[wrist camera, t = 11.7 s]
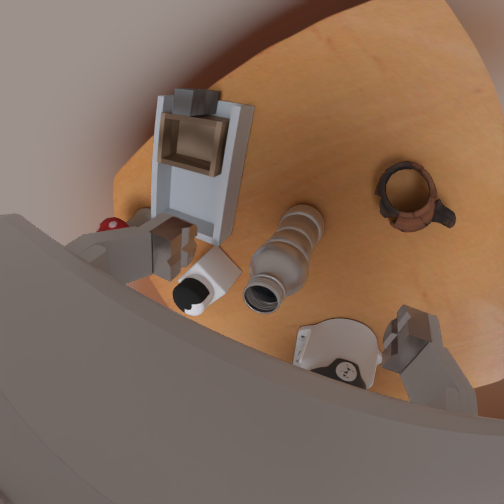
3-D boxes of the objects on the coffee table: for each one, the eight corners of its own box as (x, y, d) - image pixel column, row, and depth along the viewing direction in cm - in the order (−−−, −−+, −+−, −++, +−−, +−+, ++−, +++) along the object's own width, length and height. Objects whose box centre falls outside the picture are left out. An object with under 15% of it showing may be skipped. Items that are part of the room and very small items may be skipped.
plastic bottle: (280, 203, 42) (219, 271, 26) (323, 197, 39) (287, 269, 23) (289, 240, 45) (238, 323, 29) (330, 237, 42) (300, 326, 26)
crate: (229, 170, 42) (205, 181, 36) (174, 155, 44) (147, 165, 38) (242, 94, 35) (218, 93, 29) (183, 87, 37) (154, 87, 32)
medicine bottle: (196, 261, 55) (161, 296, 45) (216, 243, 51) (180, 278, 41) (221, 287, 56) (190, 326, 46) (243, 271, 52) (212, 311, 42)
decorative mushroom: (143, 240, 58) (94, 275, 46) (128, 204, 55) (75, 234, 43) (174, 233, 54) (123, 272, 42) (158, 193, 50) (100, 224, 38)
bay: (231, 233, 48) (218, 246, 44) (167, 209, 52) (150, 220, 48) (254, 106, 36) (240, 106, 32) (177, 95, 39) (158, 95, 35)
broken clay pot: (372, 223, 39) (364, 214, 32) (387, 166, 37) (382, 145, 30) (444, 250, 33) (453, 246, 26) (458, 189, 31) (469, 172, 24)
